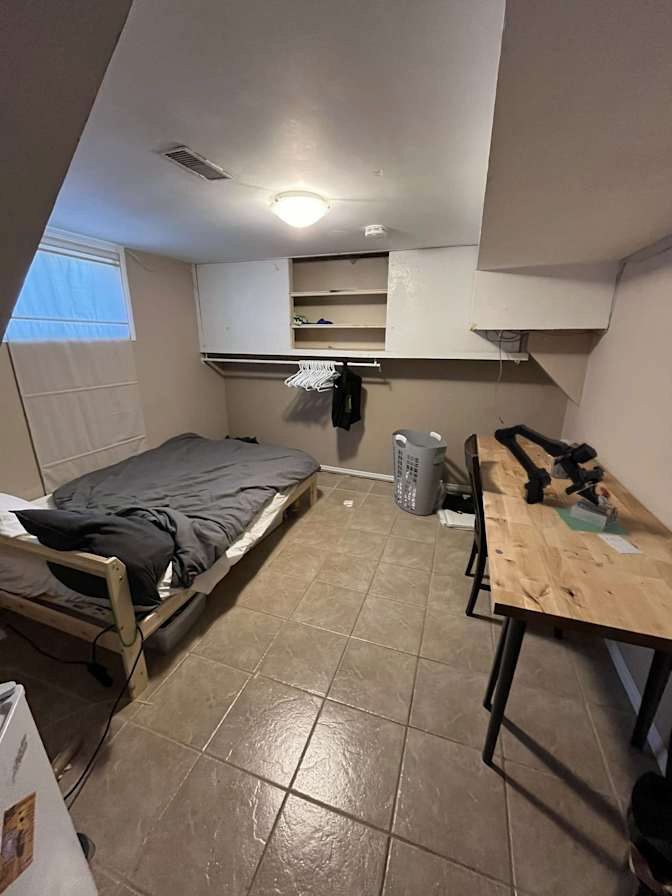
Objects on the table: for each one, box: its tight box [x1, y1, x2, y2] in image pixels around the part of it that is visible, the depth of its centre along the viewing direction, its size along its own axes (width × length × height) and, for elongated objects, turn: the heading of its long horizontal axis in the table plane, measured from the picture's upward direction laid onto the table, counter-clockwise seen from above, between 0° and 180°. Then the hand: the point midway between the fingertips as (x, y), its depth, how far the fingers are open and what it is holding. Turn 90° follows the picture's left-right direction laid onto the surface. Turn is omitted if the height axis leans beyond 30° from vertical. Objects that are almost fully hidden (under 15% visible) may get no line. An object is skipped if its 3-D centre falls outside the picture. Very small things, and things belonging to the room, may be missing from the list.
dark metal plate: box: [579, 499, 614, 511], centre depth 142 cm, size 11×3×1 cm, turn 32°
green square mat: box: [552, 507, 633, 537], centre depth 144 cm, size 20×20×1 cm
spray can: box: [549, 438, 575, 480], centre depth 193 cm, size 8×8×20 cm
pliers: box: [596, 486, 612, 506], centre depth 169 cm, size 12×20×3 cm, turn 164°
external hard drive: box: [597, 534, 646, 557], centre depth 127 cm, size 2×8×12 cm
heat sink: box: [569, 497, 620, 531], centre depth 143 cm, size 12×12×8 cm
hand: (598, 504), depth 141 cm, fingers closed, pressing on dark metal plate
